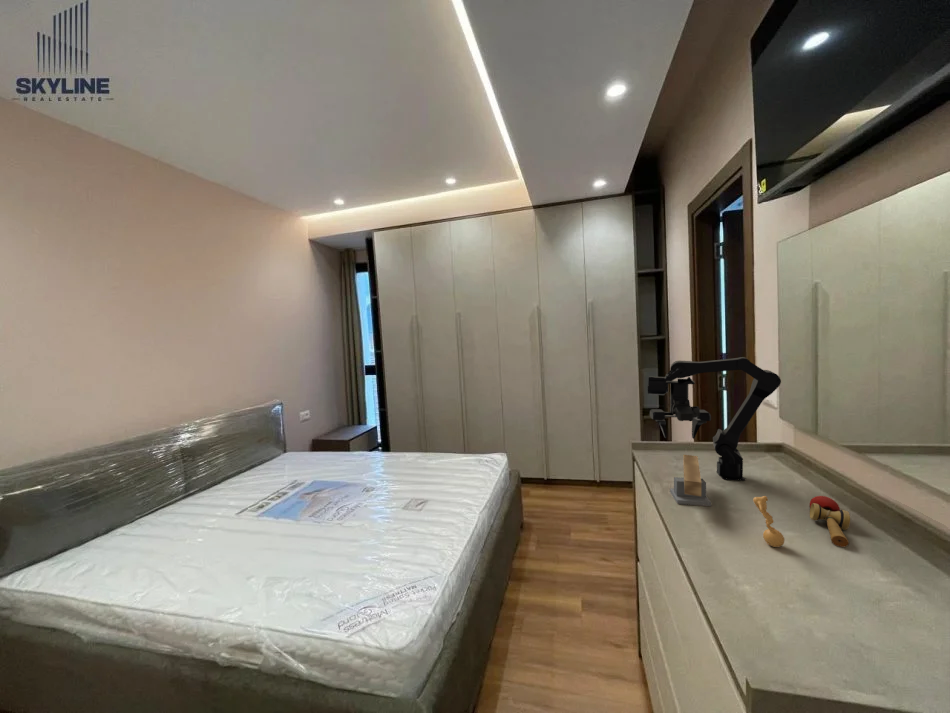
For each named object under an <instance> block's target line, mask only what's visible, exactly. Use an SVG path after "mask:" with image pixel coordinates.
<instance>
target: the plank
mask: <svg viewBox="0 0 950 713" xmlns="http://www.w3.org/2000/svg"><path fill="white" fill-rule="evenodd" d="M682 458H683V462H682V463H683V465H682V466H683V478H684V490H685V494H688V495H694V496H701V479H702V477H701V471H700V465H699V464H700V463H699V457H698V456H697V455H690V454H683V457H682Z"/></svg>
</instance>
